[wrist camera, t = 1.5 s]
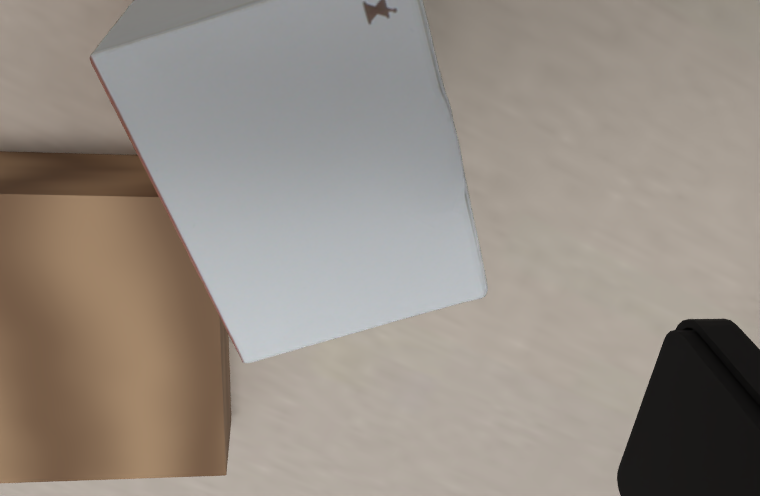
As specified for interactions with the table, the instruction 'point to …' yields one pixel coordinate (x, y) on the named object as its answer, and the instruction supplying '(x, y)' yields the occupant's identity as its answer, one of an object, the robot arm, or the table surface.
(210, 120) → the small box
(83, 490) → the table surface
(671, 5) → the table surface
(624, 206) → the table surface
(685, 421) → the robot arm
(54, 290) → the walnut slab
